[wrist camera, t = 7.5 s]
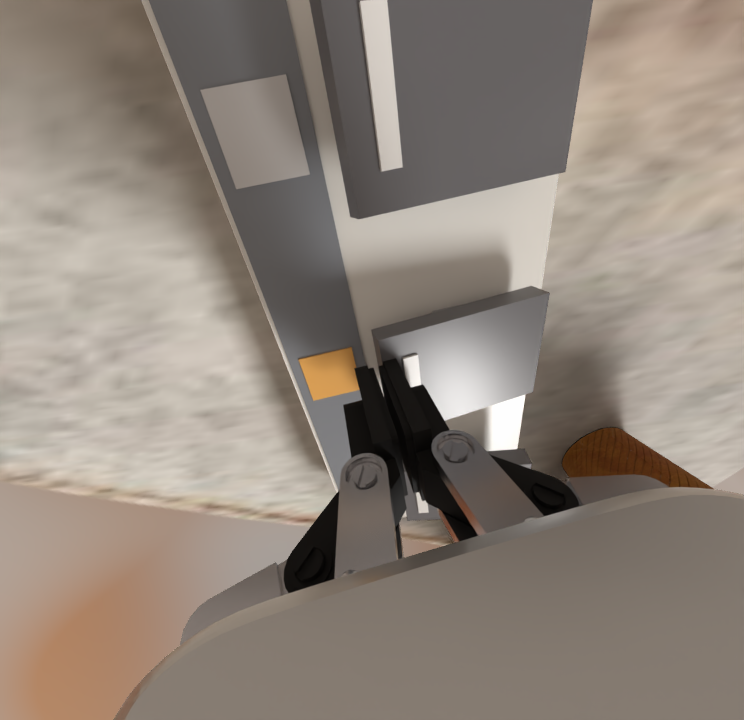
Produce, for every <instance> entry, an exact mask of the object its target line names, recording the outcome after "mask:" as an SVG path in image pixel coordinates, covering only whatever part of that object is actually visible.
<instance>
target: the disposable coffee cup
mask: <svg viewBox="0 0 744 720" xmlns="http://www.w3.org/2000/svg"><path fill="white" fill-rule="evenodd" d="M562 466H563V469H564V470H565V472H566V473H567V475H568V476H569V477H591V476H612V475H633V474H635V475H645V476H648V477H651V478H654V479H657V480H658V481H660V482H662V483H664V484H665V485H667V486H668V487H669V488H670V487H690V488H705V489H713V488H712V487H710V486H709V485H707V484H705V483H704V482H702V481H700V480H699V479H698V478H696V477H694V476H693V475H691V474H690V473H688V472H687V471H685V470H684V469H682V468H680V467H679V466H677V465H676V464H674V463H673V462H671V461H670V460H668V459H666V458H665V457H663V456H662V455H660V454H659V453H657V452H655V451H654V450H652V449H651V448H649V447H648V446H646V445H645V444H643V443H642V442H640V441H638V440H637V439H635V438H634V437H632V436H631V435H629V434H628V433H626V432H625V431H623V430H622V429H619V428H613V427H612V428H604V429H600V430H597V431H595V432H592V433H590V434H588V435H586V436H585V437H583V438H581V439H580V440H579V441H577V442H576V443H575V444H574V445H573V446H572V447H571V448H570V449H569V450H568V451H567V452H566V454H565V456H564V458H563V461H562Z"/></svg>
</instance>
